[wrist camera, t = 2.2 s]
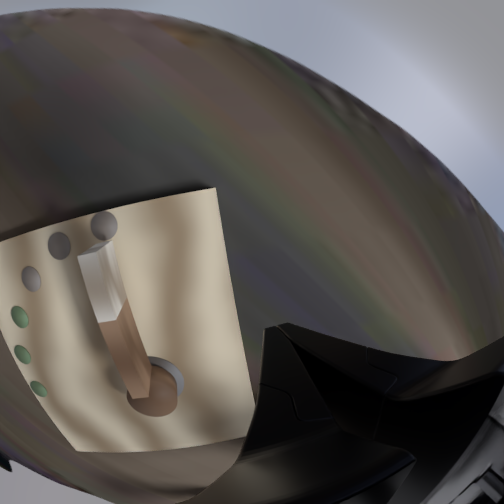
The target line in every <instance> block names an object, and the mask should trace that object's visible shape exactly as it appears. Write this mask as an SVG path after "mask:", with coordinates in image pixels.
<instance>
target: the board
mask: <svg viewBox="0 0 504 504" xmlns="http://www.w3.org/2000/svg"><path fill="white" fill-rule="evenodd" d="M111 240H112V241H113V246H114V250H115V254H116V258H117V262H118V266H119V270H120V274H121V277H122V281H123V285H124V288H125V291H126V295H127V298H128V301H129V305H130V308H131V311H132V314H133V317H134V320H135V323H136V326H137V329H138V332H139V335H140V337H141V340H142V343H143V346H144V348H145V351H146V353H147V356H148V359H149V361H150V364H151V366H157V367H161V368H163V369H165V370H167V371H168V372H170V373H171V374H172V375H173V376H174V378H175V380H176V382H177V400H178V403H177V407H176V409H175V410H174V411H173V412H172V413H170V414H168V415H166V416H162V417H151V416H146V415H143V414H141V413H139V412H137V411H136V410H135V409H133V408H132V407H131V405H130V404H129V403H128V400H127V387H126V385H125V383H124V381H123V379H122V377H121V375H120V373H119V371H118V369H117V367H116V365H115V362H114V360H113V358H112V356H111V353H110V351H109V349H108V346H107V344H106V342H105V339H104V337H103V334H102V332H101V329H100V326H99V324H98V321H97V318H96V316H95V313H94V310H93V307H92V304H91V301H90V298H89V295H88V292H87V289H86V286H85V282H84V279H83V275H82V272H81V268H80V265H79V261H78V257H77V256H79V255H80V254H82V253H83V252H85V251H86V250H88V249H89V248H91V247H92V246H94V245H95V244H98V243H102V242H106V241H111ZM0 330H1V332H2V334H3V337H4V339H5V341H6V343H7V345H8V347H9V349H10V351H11V354H12V356H13V357H14V359H15V361H16V363H17V365H18V367H19V369H20V371H21V372H22V374H23V376H24V378H25V380H26V381H27V383H28V385H29V386H30V388H31V390H32V391H33V393H34V394H35V396H36V398H37V399H38V401H39V402H40V404H41V405H42V407H43V408H44V410H45V411H46V412H47V414H48V415H49V417H50V418H51V419H52V421H53V422H54V423H55V425H56V426H57V427H58V429H59V430H60V431H61V433H62V434H63V435H64V436H65V438H66V439H67V440H68V441H69V443H70V444H71V445H72V446H73V447H74V448H75V450H76V451H86V452H143V451H157V450H168V449H177V448H185V447H193V446H199V445H205V444H211V443H217V442H222V441H227V440H231V439H236V438H240V437H245V436H246V435H247V432H248V429H249V426H250V423H251V420H252V417H253V413H254V409H255V402H254V397H253V393H252V388H251V383H250V378H249V373H248V368H247V363H246V358H245V353H244V348H243V343H242V338H241V333H240V327H239V322H238V317H237V311H236V306H235V301H234V295H233V290H232V284H231V278H230V273H229V267H228V261H227V255H226V249H225V243H224V237H223V231H222V225H221V219H220V213H219V206H218V200H217V194H216V188H211V189H205V190H199V191H193V192H188V193H183V194H177V195H172V196H167V197H162V198H157V199H152V200H148V201H143V202H139V203H134V204H130V205H125V206H121V207H117V208H113V209H109V210H105V211H101V212H97V213H93V214H89V215H85V216H82V217H78V218H74V219H71V220H67V221H64V222H60V223H57V224H53V225H50V226H47V227H44V228H40V229H37V230H34V231H31V232H28V233H25V234H22V235H19V236H16V237H13V238H10V239H7V240H4V241H1V242H0Z"/></svg>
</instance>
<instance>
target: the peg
mask: <svg viewBox="0 0 504 504" xmlns="http://www.w3.org/2000/svg"><path fill="white" fill-rule="evenodd" d="M77 257H78V261H79V265H80V268H81V272H82V275H83V279H84V282H85V286H86V289H87V292H88V295H89V298H90V301H91V304H92V307H93V310H94V313H95V316H96V318H97V321H98V324H99V326H100V329H101V332H102V334H103V337H104V339H105V342H106V344H107V346H108V349H109V351H110V353H111V356H112V358H113V360H114V362H115V365H116V367H117V369H118V371H119V373H120V375H121V377H122V379H123V381H124V383H125V385H126V387H127V400H128V403H129V404H130V405H131V407H132V408H133V409H135V410H136V411H137V412H139V413H141V414H143V415H146V416H151V417H162V416H166V415H168V414H170V413H172V412H173V411H174V410H175V409H176V407H177V403H178V400H177V382H176V380H175V378H174V376H173V375H172V374H171V373H170V372H168V371H167V370H165V369H163V368H161V367H157V366H151V364H150V361H149V359H148V356H147V353H146V351H145V348H144V346H143V343H142V340H141V337H140V335H139V332H138V329H137V326H136V323H135V320H134V317H133V314H132V311H131V308H130V305H129V301H128V298H127V295H126V291H125V288H124V285H123V281H122V277H121V274H120V270H119V266H118V262H117V258H116V254H115V250H114V246H113V241H112V240H111V241H106V242H102V243H98V244H95V245H94V246H92V247H91V248H89V249H88V250H86V251H85V252H83V253H82V254H80V255H79V256H77Z"/></svg>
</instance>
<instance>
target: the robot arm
mask: <svg viewBox="0 0 504 504" xmlns="http://www.w3.org/2000/svg"><path fill="white" fill-rule="evenodd" d="M176 504H504V337H502V338H500V339H498V340H497V341H495V342H493V343H491V344H490V345H488V346H486V347H484V348H482V349H480V350H478V351H476V352H474V353H473V354H471V355H469V356H466V357H464V358H462V359H459V360H454V361H438V360H431V359H424V358H417V357H410V356H404V355H399V354H393V353H389V352H385V351H381V350H377V349H373V348H370V347H368V348H367V347H366V346H362V345H359V344H355V343H352V342H348V341H345V340H342V339H338V338H335V337H332V336H328V335H325V334H322V333H319V332H315V331H312V330H309V329H306V328H303V327H300V326H297V325H294V324H291V323H284V324H280V325H277V327H276V326H273V327H269V328H265V329H264V332H263V343H262V354H261V365H260V375H259V386H258V394H257V400H256V406H255V409H254V413H253V417H252V420H251V423H250V426H249V429H248V432H247V435H246V438H245V440H244V443H243V446H242V449H241V451H240V454H239V456H238V458H237V460H236V462H235V463H234V465H233V466H232V467H231V468H230V469H229V470H227V471H226V472H225V473H224V474H223V475H222V476H220V477H219V478H218V479H217V480H216V481H214V482H213V483H212V484H211V485H209V486H208V487H207V488H206V489H204V490H203V491H202V492H201V493H199V494H198V495H196V496H195V497H193V498H191V499H189V500H186V501H184V502H180V503H176Z"/></svg>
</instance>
